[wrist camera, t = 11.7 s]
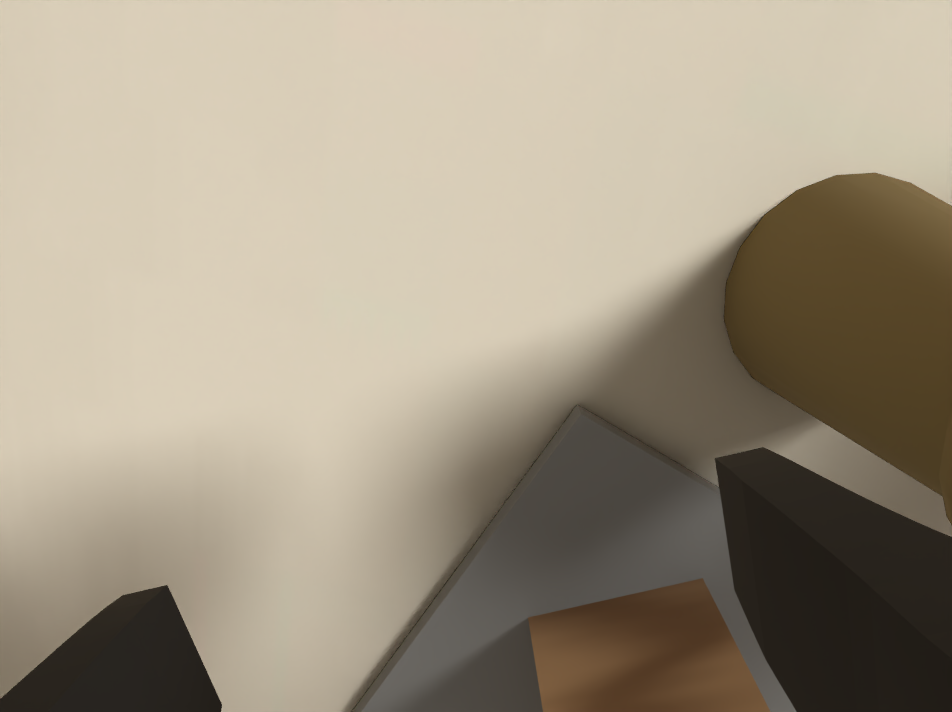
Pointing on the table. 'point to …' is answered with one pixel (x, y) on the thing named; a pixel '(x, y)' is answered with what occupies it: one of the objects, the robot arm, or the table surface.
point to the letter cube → (643, 656)
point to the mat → (565, 572)
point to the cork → (855, 316)
